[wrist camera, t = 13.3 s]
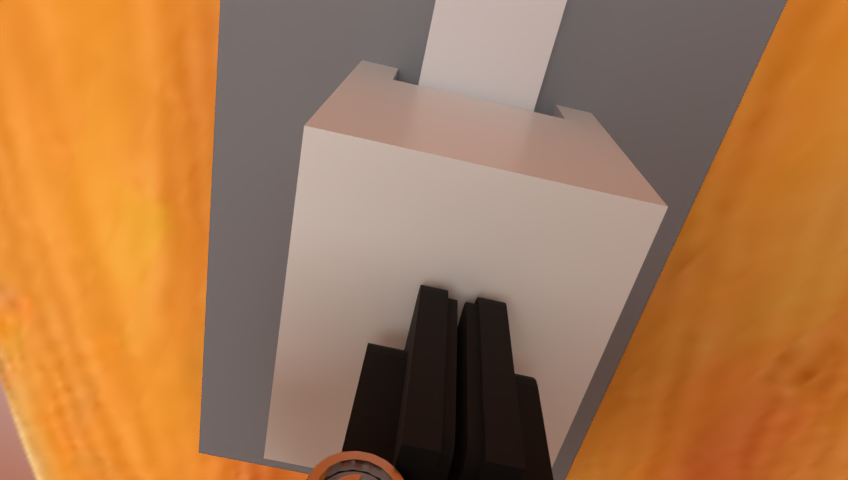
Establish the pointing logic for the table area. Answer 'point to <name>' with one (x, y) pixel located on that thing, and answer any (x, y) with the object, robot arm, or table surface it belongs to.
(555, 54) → the rail board
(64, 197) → the table surface
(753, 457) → the table surface
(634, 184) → the block
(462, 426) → the robot arm
